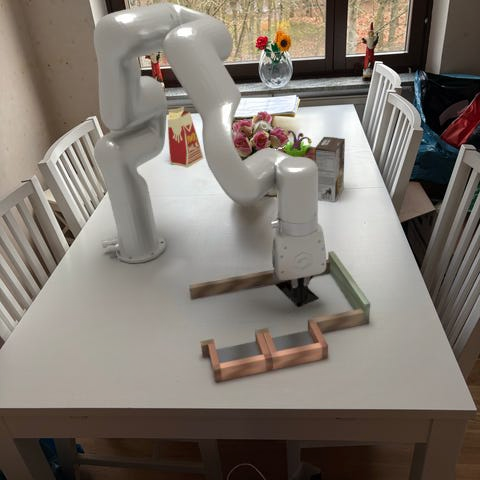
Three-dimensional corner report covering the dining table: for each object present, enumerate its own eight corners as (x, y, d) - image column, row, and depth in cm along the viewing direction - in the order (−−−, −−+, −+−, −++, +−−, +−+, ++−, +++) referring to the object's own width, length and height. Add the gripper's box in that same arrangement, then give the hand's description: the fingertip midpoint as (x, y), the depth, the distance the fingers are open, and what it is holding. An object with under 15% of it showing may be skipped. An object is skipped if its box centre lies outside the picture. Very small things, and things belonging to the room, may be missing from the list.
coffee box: (323, 186, 151) (323, 136, 142) (344, 189, 148) (345, 137, 140) (314, 199, 144) (314, 147, 135) (335, 202, 141) (337, 149, 133)
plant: (276, 149, 181) (275, 119, 175) (329, 152, 174) (329, 121, 168) (259, 171, 165) (257, 139, 159) (316, 175, 159) (317, 142, 153)
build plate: (327, 304, 104) (327, 286, 102) (297, 315, 102) (297, 298, 99) (295, 274, 114) (295, 257, 111) (268, 284, 111) (267, 268, 109)
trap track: (208, 383, 87) (205, 363, 84) (190, 296, 109) (187, 278, 106) (384, 345, 92) (386, 325, 89) (333, 269, 113) (333, 251, 111)
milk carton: (203, 158, 178) (196, 103, 167) (188, 167, 171) (179, 111, 161) (183, 154, 182) (175, 101, 172) (167, 164, 176) (158, 108, 165)
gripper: (264, 239, 89) (269, 316, 99) (342, 225, 91) (339, 302, 101) (254, 219, 96) (260, 294, 105) (328, 207, 98) (326, 281, 107)
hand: (299, 298), depth 103 cm, fingers closed
